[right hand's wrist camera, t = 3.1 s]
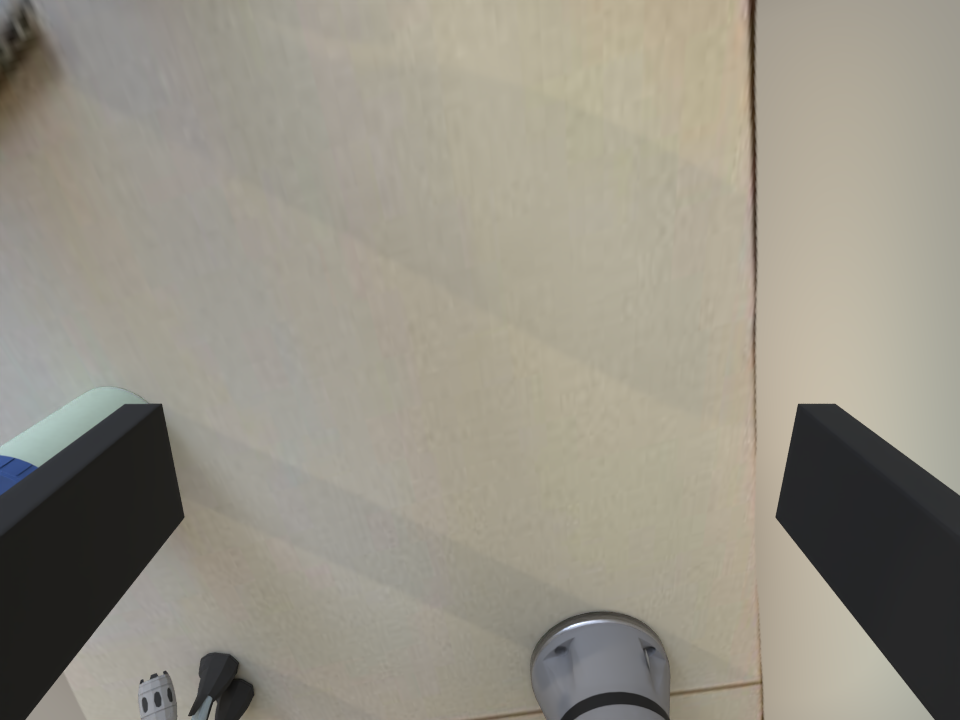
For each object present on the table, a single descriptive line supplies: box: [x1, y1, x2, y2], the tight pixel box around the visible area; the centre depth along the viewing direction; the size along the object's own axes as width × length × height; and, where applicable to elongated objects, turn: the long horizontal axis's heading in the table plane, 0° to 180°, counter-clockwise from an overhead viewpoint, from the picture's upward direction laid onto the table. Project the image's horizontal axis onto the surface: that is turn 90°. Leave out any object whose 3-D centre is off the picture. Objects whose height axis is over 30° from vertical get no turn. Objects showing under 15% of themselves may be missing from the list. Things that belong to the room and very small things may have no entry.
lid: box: [0, 455, 38, 495], centre depth 44 cm, size 10×10×2 cm
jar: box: [0, 387, 148, 467], centre depth 50 cm, size 9×9×16 cm
